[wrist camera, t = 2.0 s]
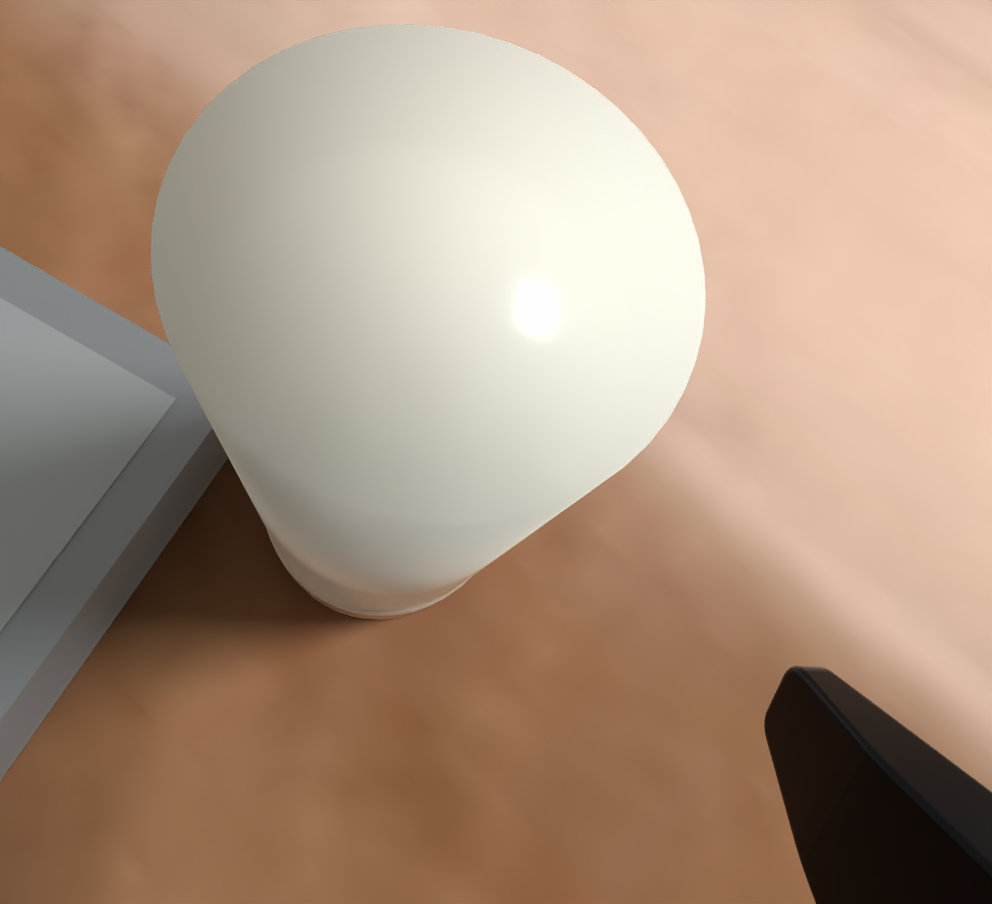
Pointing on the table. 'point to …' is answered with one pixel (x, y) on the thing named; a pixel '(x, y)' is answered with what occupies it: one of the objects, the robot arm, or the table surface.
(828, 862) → the robot arm
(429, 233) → the white cylinder
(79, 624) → the base
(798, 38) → the table surface
